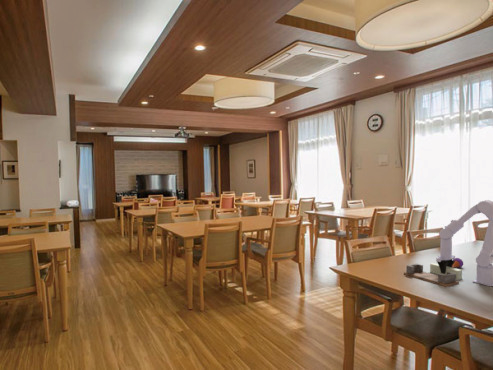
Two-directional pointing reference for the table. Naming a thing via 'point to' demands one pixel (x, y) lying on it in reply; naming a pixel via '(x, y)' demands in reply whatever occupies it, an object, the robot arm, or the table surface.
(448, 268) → the slat
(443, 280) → the cradle
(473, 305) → the table surface
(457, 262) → the brown piece
